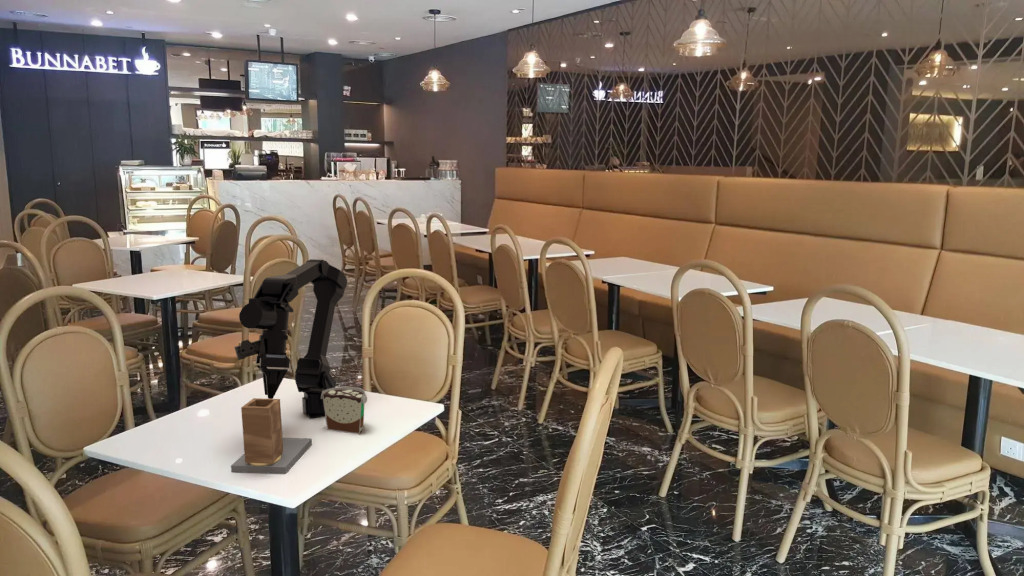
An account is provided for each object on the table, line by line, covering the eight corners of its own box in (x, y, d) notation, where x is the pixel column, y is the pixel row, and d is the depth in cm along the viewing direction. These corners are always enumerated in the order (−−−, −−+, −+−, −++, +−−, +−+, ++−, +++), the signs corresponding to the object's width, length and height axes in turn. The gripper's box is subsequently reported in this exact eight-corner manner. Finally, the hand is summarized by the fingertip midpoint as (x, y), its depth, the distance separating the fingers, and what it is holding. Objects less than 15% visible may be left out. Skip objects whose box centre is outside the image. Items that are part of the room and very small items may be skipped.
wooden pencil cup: (257, 451, 155) (253, 398, 153) (283, 452, 155) (280, 398, 153) (245, 462, 149) (241, 407, 147) (272, 463, 149) (268, 408, 147)
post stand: (263, 443, 165) (261, 422, 164) (312, 444, 164) (310, 423, 163) (231, 472, 149) (229, 449, 148) (285, 473, 149) (284, 450, 148)
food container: (377, 426, 176) (376, 388, 174) (365, 435, 170) (363, 396, 168) (336, 420, 180) (334, 383, 178) (322, 429, 174) (320, 391, 172)
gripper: (236, 328, 169) (230, 392, 168) (239, 328, 152) (233, 399, 150) (284, 331, 173) (278, 393, 172) (292, 331, 156) (286, 400, 155)
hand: (268, 396), depth 162 cm, fingers open, 9 cm apart
